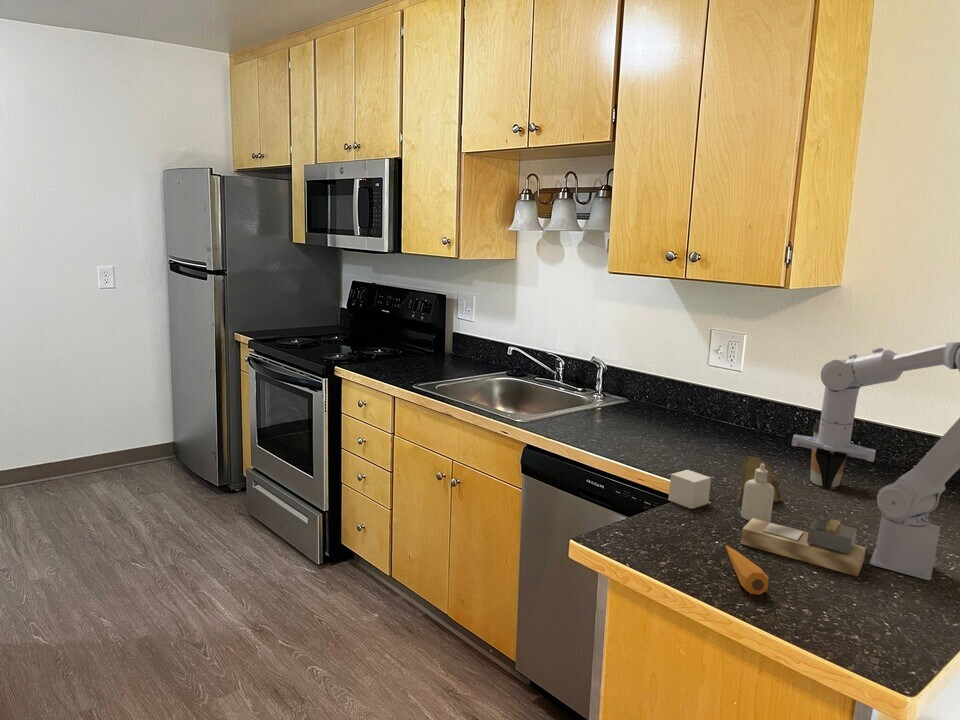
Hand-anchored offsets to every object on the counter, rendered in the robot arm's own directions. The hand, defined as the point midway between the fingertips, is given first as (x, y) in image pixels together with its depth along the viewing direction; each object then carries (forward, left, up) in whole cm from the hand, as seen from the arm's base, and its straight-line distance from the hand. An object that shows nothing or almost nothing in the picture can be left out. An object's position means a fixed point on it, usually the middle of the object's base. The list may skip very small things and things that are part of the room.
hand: (826, 488), depth 145 cm
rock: (+14, -10, -10) cm, 20 cm away
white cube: (+26, +2, -10) cm, 28 cm away
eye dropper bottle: (+12, +2, -10) cm, 15 cm away
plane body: (+1, +13, -9) cm, 16 cm away
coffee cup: (+5, -34, -10) cm, 36 cm away
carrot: (+8, +28, -10) cm, 30 cm away
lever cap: (-4, +13, -6) cm, 15 cm away
